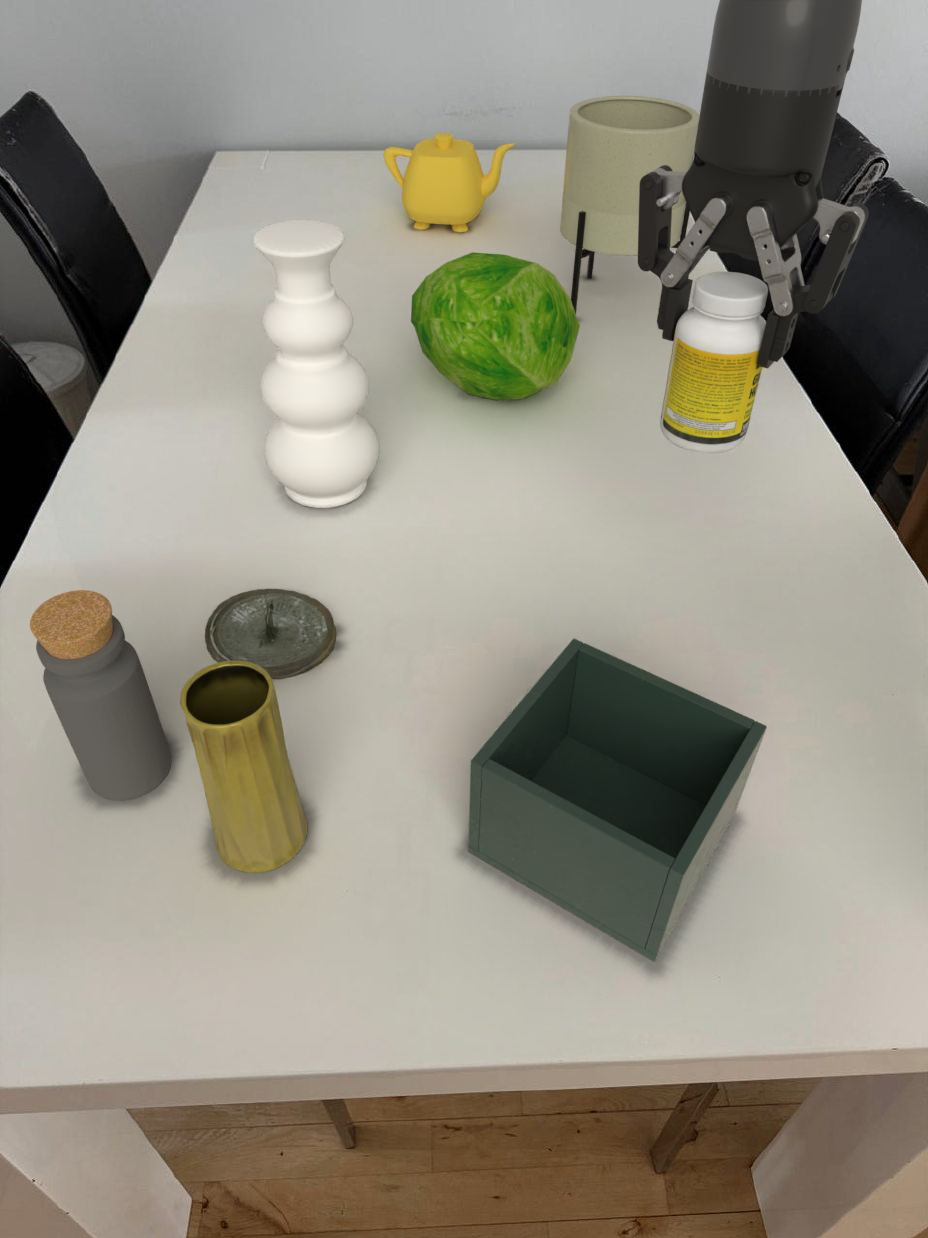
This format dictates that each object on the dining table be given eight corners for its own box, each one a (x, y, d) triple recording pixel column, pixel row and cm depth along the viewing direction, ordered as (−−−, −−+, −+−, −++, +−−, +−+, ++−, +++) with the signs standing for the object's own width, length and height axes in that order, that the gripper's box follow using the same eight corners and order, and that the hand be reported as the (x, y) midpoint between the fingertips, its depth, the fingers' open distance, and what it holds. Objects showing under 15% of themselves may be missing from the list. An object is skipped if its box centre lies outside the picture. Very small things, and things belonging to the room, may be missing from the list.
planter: (666, 334, 116) (701, 136, 100) (544, 318, 119) (558, 124, 103) (678, 286, 126) (710, 100, 111) (565, 272, 129) (581, 90, 114)
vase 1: (326, 824, 62) (303, 682, 52) (263, 891, 58) (226, 751, 48) (260, 782, 64) (226, 639, 55) (196, 844, 61) (147, 702, 51)
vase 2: (396, 467, 93) (385, 216, 76) (358, 530, 86) (337, 266, 68) (297, 450, 95) (264, 202, 78) (252, 510, 88) (204, 249, 70)
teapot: (507, 241, 138) (511, 152, 129) (377, 232, 140) (373, 144, 131) (516, 210, 147) (520, 125, 139) (395, 201, 149) (392, 118, 141)
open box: (733, 817, 63) (767, 725, 56) (654, 962, 55) (683, 876, 48) (561, 731, 68) (573, 637, 61) (467, 852, 60) (470, 760, 54)
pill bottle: (755, 456, 64) (793, 303, 57) (668, 457, 64) (695, 305, 57) (732, 411, 69) (765, 265, 61) (651, 412, 69) (674, 266, 61)
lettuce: (611, 372, 108) (563, 236, 106) (576, 364, 89) (516, 199, 88) (484, 427, 114) (436, 299, 113) (426, 430, 96) (368, 277, 94)
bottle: (74, 763, 65) (4, 610, 55) (149, 723, 68) (96, 570, 58) (109, 816, 62) (41, 664, 52) (186, 772, 65) (137, 619, 55)
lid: (196, 647, 76) (172, 613, 72) (289, 576, 79) (271, 539, 75) (267, 723, 71) (245, 691, 67) (364, 643, 74) (349, 608, 70)
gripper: (629, 63, 51) (599, 342, 63) (888, 100, 45) (803, 402, 57) (685, 40, 56) (647, 304, 67) (927, 72, 50) (841, 356, 61)
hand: (719, 348), depth 62 cm, fingers closed on pill bottle, 6 cm apart
